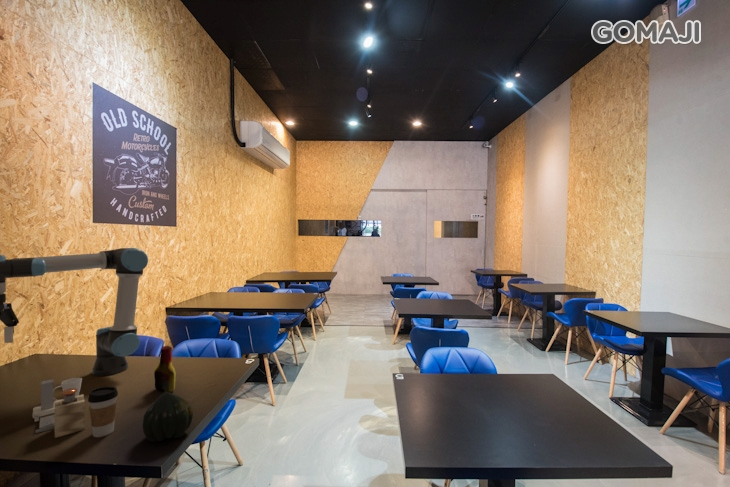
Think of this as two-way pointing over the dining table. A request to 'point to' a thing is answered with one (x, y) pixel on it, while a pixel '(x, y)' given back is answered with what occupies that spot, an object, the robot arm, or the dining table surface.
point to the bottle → (165, 371)
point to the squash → (167, 418)
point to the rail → (46, 423)
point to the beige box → (69, 416)
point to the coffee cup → (102, 410)
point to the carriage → (45, 400)
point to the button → (69, 395)
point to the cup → (71, 385)
